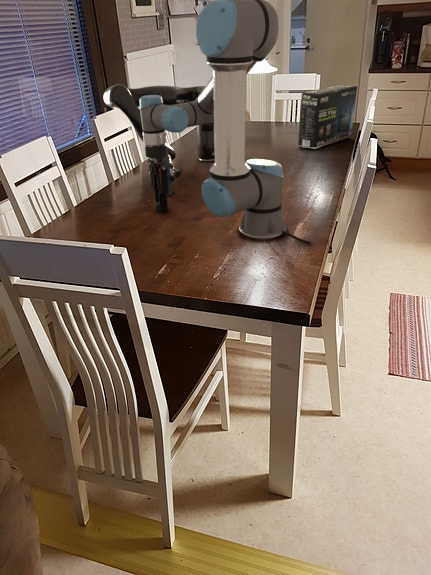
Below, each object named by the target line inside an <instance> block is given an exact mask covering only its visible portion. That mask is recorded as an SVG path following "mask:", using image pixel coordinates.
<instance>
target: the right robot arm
mask: <svg viewBox="0 0 431 575" xmlns="http://www.w3.org/2000/svg"><path fill="white" fill-rule="evenodd" d="M280 24H281V22H280V18H279V15H278V12H277V11H276V9H275V7H274V6H273V5H272V4H271V3H270V2H269V1H267V0H211V1H210V2H207V4H205V6H203V8H202V11H200V13H199V15H198V16H197V20H196V25H195V40H196V44H197V46H199V47H198V48H199V51H200V53H201V54H203V55H204V56H206V63H207V65H208V67H210V68H211V69H212V75H211V77H210V79H209V81H208V82H207V83H206V85H204V86H205V88H204V89H203V90H202V92H201V93H200V95H199V96H198V97H197V99H196V100H195V101H192V102H187V103H181V104H175V105H164V104H163V101H162V97H161V96H159V95H147V96H142V97H141V98H140V107H139V110H140V114H141V121H142V129H143V140H144V143H143V144H144V155H145V157H146V158H148V159H147V163H148V170H150V177H149V178H150V185H151V187H152V189H153V194H154V202H155V205H156V202H157V201H159V204H160V211H159V212H160V213H163V212H167V211H169V208H168V198H167V196H166V194H168V193H169V191H168V177H167V169H168V168H167V167H164V166H165V164H164V161H163V157H164V156H166V155H167V146H166V144H167V138H166V136H167V135H168V134H167V132H169V133H177V134H179V133H182V132H183V131H185V130H186V129H189V128H192V127H197V125H202V124H209V123H211V122H214V154H215V161H213V164H211V166H210V167H209V178H206V179H205V180H204V181H203V183H202V184H201V196H202V198H203V202H204V204H205V206H206V207H207V209H208V210H209V211H210V213H212V214H213V215H215V216H216V217H219V218H225V217H228V216H233V215H235V214H239V213H240V212H243V213H242V216H241V220H240V222H239V225H238V232H239V235H240V236H241V237H242V238H244V239H247V240H250V241H254V242H271V241H277V240H279V239H281V238H283V237H285V235H286V236H288V237H290V238H292V239H293V240H296V241H297V242H300V243H303V244H307V245H310V244H311V241H310V240H307V239H303V238H300V237H298V236H296V235H294V234H292V233H290V232H288V231H287V223H286V221H285V216H284V214H283V210H282V200H283V183H284V174H283V173H284V172H283V171H284V169H283V166H282V164H281V163H280V162H278V161H274V160H270V159H260V158H252V159H247V160H246V137H245V135H246V128H247V127H246V124H247V122H246V118H247V75H248V74H249V72H250V71H251V70H252V69H253V67H255V65H256V64H257V63H261V62H262V61H264V60H266V58H267V57H268V56H269V54H270V53H271V51H272V50H273V49H274V47H275V45H276V44H277V42H278V38H279V35H280V29H281V25H280ZM165 143H166V144H165Z"/></svg>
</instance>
